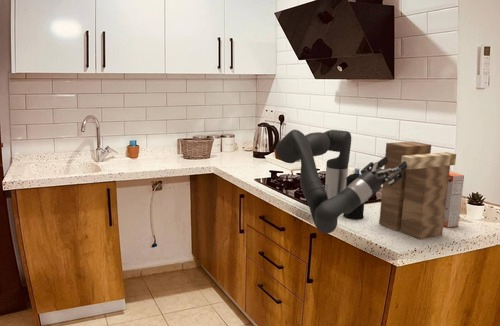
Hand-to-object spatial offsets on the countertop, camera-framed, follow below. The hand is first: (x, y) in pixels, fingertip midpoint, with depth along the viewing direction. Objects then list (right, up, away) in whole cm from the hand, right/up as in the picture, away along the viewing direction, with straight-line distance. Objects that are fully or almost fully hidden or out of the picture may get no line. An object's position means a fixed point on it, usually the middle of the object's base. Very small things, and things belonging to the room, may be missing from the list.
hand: (396, 161), depth 159 cm
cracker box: (+27, -25, +31) cm, 48 cm away
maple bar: (+14, -2, +9) cm, 17 cm away
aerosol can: (-7, -23, +35) cm, 42 cm away
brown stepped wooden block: (+12, -26, +21) cm, 35 cm away
